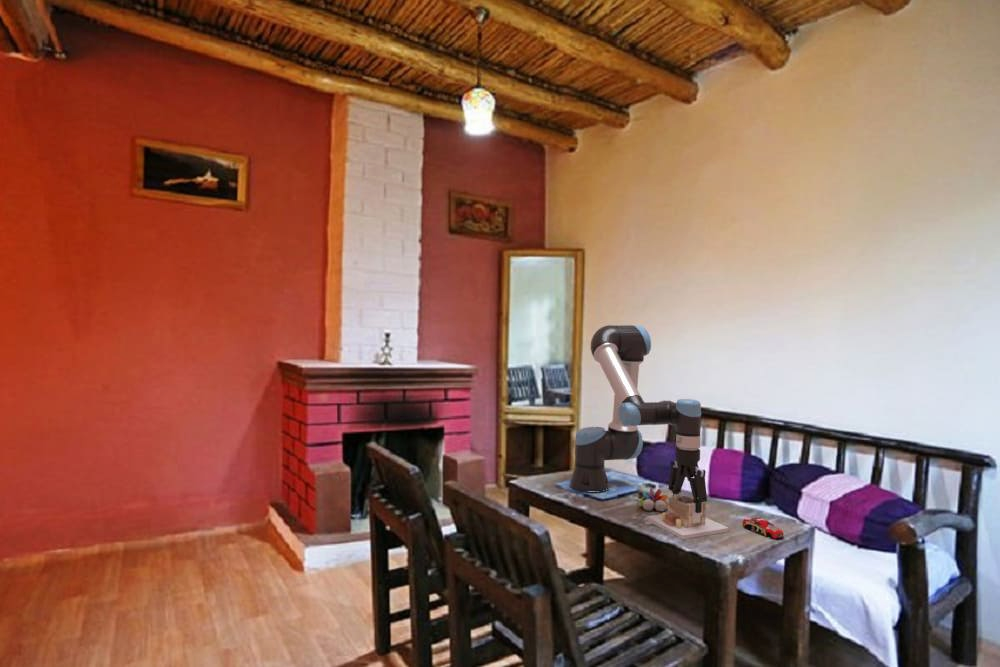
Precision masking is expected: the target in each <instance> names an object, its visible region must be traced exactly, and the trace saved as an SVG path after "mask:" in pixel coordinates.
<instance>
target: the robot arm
mask: <svg viewBox="0 0 1000 667" xmlns="http://www.w3.org/2000/svg"><path fill="white" fill-rule="evenodd" d="M651 349H652V339H651V336H650V334H649V332H648V330H647V329H646V328H645V327H643V326H641V325H632V324H631V325H629V324H628V325H626V324H625V325H623V324H622V325H621V324H620V325H613V324H612V325H611V324H609V325H605V326H602V327H600V328H598V330H596V332H594V334H593V336H592V337H591V340H590V352H591V355H592V357H593V359H594V361H596V362H597V363H599V365H600V366H601V369H602V371H603V373H604V375H605V376H606V379H607V381H608V383H609V385H610V387H611V389H612V391H613V393H614V399H613V411H612V421H610V422H609V423H608V425H607V430H606V429H605V427H602V426H588V427H583V428H580V429H579V430H577V431H576V433H575V439H574V468H573V472H572V474H571V478H570V480H569V483H570V484H569V486H570V488H571V489H573V491H577V490H579V491H578V492H582V491H603V490H606V489H608V488H609V489H610V486H609V484H610V482H609V479H608V476H607V473H606V470H605V462H606V461H615V460H616V461H619V460H622V461H623V460H624V461H627V460H633V459H636V458H638V457H639V455H641V453H642V450H643V444H644V440H643V435H642V433H641V432H640V430H639V428H638V426H659V425H670V426H674V427H675V447H676V448H675V459H676V460H671V461H670V472H669V481H668V491H671V493H672V498H674V497H682V496H683V493H682V488H683V485H684V483H685V480H687V481H688V483H689V486H690V490H691V494H692V497H693V498H694V501H692V523H698V522H700V513H701V512H702V510H701V509H702V502H705V503H706V502H707V501H708V496H707V486H706V485H707V484H706V474H707V473H706V470H705V469H701V468H699V462H700V460H701V450H700V448H701V425H702V409H701V407H702V406H701V401H699V400H697V399H692V398H691V399H690V398H680V399H678V400H677V401H676V402H674V401H672V400H664V399H663V400H661V401H654V402H653V401H651V402H649V401H647V402H645V401H644V399H643V398H642V396H641V394H640V392H639V390H638V382H639V381H638V380H639V371H640V364H642V363H643V362H644V359H645V358H644V357H645V356H648V355H649V354H650V352H651ZM609 489H608V490H609ZM606 491H607V490H606ZM603 492H604V491H603Z"/></svg>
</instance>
